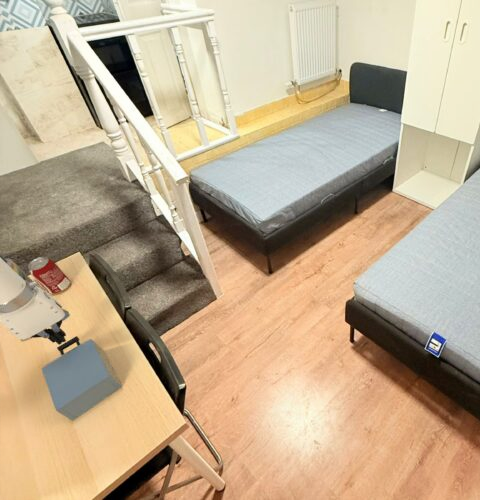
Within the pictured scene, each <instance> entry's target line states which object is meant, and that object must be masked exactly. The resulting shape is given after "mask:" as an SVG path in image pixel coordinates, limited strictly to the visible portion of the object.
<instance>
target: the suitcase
mask: <svg viewBox="0 0 480 500" xmlns="http://www.w3.org/2000/svg"><path fill="white" fill-rule="evenodd" d="M89 339H90V340H89ZM89 339H87V340H88V341H87V340H86V341H87V342H85V341H84V342H85V343H84V342H82V343H83V344H82V343H81V344H82V345H80V346H78V347H77V346H75V347H76V348H75V347H74V348H75V349H73V348H72V349H73V350H72V349H70V350H71V351H70V350H69V351H70V352H68V351H67V352H68V353H67V352H65V353H66V354H65V353H64V354H65V355H63V356H62V355H60V356H61V357H60V356H59V357H60V358H58V357H57V358H58V359H57V358H55V359H56V360H55V359H54V360H55V361H53V360H52V361H53V362H52V361H50V362H51V363H50V362H49V363H50V364H48V363H47V364H48V365H47V364H45V365H46V366H45V365H44V366H43V367H41V372H42V375H43V378H44V380H45V383H46V386H47V389H48V392H49V395H50V398H51V400H52V403H53V406H54V410H55V411H56V412H57V413H59V414H61V415H62V416H64V417H66V418H67V419H68V420H71V421H72V422H73V421H75V420H77V419H78V418H79V417H80V416H83V415H84V414H85V413H87V412H88V411H90V410H91V409H93V408H94V407H96V406H97V405H99V404H100V403H102V402H103V401H104V400H106V399H108V397H111V395H113V394H115V393H116V392H117V391H119V390H120V389H122V388H123V385H122V384H121V381H120V380H119V378H118V376H117V373H116V372H115V369H114V367H113V366H112V364H111V362H110V359H109V358H108V356H107V354H106V351H105V350H103V349H102V348H101V346H100V345H98V344H97V342H95V340H93V339H92V338H89Z"/></svg>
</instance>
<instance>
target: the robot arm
mask: <svg viewBox="0 0 480 500" xmlns="http://www.w3.org/2000/svg"><path fill="white" fill-rule="evenodd" d="M39 284H40V283H39V282H38V281H37V280H36V279H35V280H32V282H27V281H26V280H24V279H22V278H21V277H20V276H19V275H18V274H17V273H16V272H15V271H14V270H13V269H12V268H11V267H10V266H9V265H8V264H7V263H6V262H5V261H4V260H3V259H2V258H0V323H1V325H3V326H4V328H6V329H7V330H8V332H10V334H12V335H13V336H14V337H15V338H17V339H19V340H20V341H21V342H26V341H29V340H32V339H33V338H35V339H36V338H42V339H48V340H49V341H50V342H51V343H52V344H54V343H56V345H58V346H60V345H62V344H63V343H66V342H67V340H66V338H65V337H66V336H67V333H66V332H65V331H64V330H63V329H62V328H61V326H62V324H63V321H66V320H67V319H68V318H69V317H70V316H71V314H70V312H69V311H68V310H66V309H64V308H63V306H62V304H61V303H60V302H59V301H58V300H57V299H56V298H54V297H53V296H52V294H50V293H49V292H48V291H46V290H44V289H42V288H41V287H40V286H39ZM37 286H38V287H37Z"/></svg>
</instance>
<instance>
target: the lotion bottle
mask: <svg viewBox="0 0 480 500" xmlns="http://www.w3.org/2000/svg"><path fill="white" fill-rule="evenodd" d="M0 258H2V259H3V260H4V261H5V262H6V263H7V264H8V265H9V266H10V267H11V268H12V269H13V270H14V271H15V272H16V273H17V274H18V275H19V276H20V277H21V278H22V279H24V280H26V281H27V282H32V281H33V279H31V277H30V276H29V275H27V274H26V273H25V271H24V270H22V269H21V267H20V266H19V265H18V264H16V262H15V261H13V260H12V259H11V258H5V257H4V256H3V255H2V254H1V253H0ZM37 287H39V285H38V286H37Z"/></svg>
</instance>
